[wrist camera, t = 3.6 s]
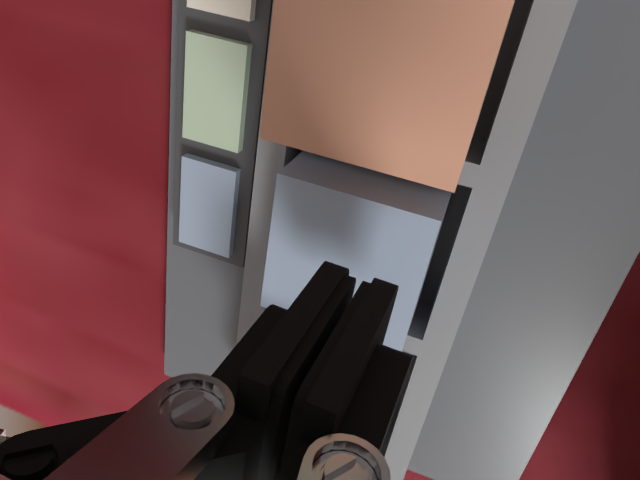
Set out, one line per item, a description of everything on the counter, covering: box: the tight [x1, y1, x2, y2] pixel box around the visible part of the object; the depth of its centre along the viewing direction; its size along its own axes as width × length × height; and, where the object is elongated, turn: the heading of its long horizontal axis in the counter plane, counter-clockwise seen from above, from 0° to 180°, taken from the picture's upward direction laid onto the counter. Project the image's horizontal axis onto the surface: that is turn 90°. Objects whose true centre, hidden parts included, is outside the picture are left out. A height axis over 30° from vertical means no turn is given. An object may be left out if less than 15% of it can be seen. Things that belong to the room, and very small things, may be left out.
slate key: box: [260, 151, 452, 352], centre depth 15 cm, size 4×4×2 cm
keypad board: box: [164, 0, 640, 480], centre depth 15 cm, size 14×25×2 cm, turn 171°
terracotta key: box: [259, 0, 515, 193], centre depth 11 cm, size 4×4×2 cm
